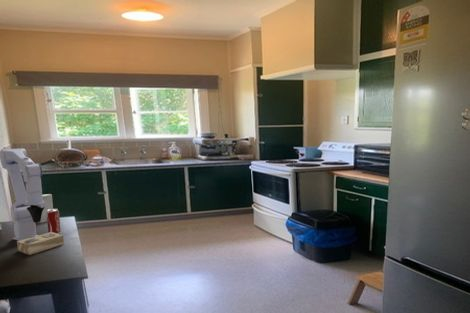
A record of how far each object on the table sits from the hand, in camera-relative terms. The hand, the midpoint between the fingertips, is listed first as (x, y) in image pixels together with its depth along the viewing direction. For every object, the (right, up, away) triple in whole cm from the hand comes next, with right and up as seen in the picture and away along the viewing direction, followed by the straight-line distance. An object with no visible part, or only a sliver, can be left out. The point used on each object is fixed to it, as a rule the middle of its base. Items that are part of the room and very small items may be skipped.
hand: (37, 222), depth 137 cm
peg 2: (+5, -10, +1) cm, 11 cm away
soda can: (-2, -9, +16) cm, 19 cm away
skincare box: (-22, -8, +41) cm, 47 cm away
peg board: (+3, -11, -2) cm, 11 cm away
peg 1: (+1, -11, -5) cm, 12 cm away
